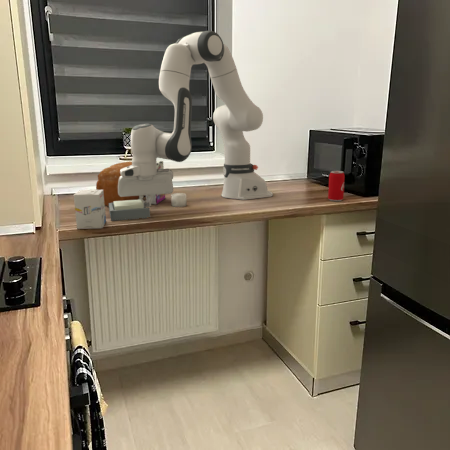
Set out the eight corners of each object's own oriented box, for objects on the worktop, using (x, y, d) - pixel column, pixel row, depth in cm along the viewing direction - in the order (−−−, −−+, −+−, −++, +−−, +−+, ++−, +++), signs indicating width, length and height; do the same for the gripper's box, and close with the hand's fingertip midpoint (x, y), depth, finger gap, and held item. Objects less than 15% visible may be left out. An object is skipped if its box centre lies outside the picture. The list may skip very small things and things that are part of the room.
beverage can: (345, 200, 188) (347, 171, 185) (338, 202, 183) (340, 173, 180) (332, 198, 192) (334, 170, 189) (325, 200, 188) (326, 171, 184)
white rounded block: (184, 203, 185) (184, 192, 184) (187, 206, 179) (187, 195, 178) (170, 204, 183) (169, 193, 182) (172, 207, 178) (172, 196, 177)
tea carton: (141, 212, 171) (140, 199, 170) (144, 217, 163) (143, 204, 162) (114, 214, 169) (113, 201, 167) (115, 220, 160) (114, 206, 159)
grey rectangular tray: (145, 209, 175) (145, 200, 174) (150, 217, 162) (149, 208, 161) (109, 211, 171) (108, 203, 170) (111, 220, 158) (110, 211, 157)
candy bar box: (154, 198, 194) (152, 160, 190) (165, 199, 193) (164, 160, 189) (145, 204, 184) (142, 164, 179) (156, 204, 183) (154, 164, 178)
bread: (94, 206, 182) (91, 167, 178) (121, 193, 206) (119, 159, 202) (126, 207, 179) (124, 168, 175) (150, 194, 204) (148, 159, 200)
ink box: (81, 222, 157) (78, 189, 153) (106, 221, 157) (103, 188, 154) (76, 229, 148) (72, 194, 145) (102, 228, 149) (99, 193, 146)
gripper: (171, 167, 170) (172, 202, 173) (115, 169, 164) (118, 206, 168) (174, 169, 164) (175, 206, 167) (116, 172, 158) (119, 210, 162)
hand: (146, 206), depth 168 cm, fingers closed
